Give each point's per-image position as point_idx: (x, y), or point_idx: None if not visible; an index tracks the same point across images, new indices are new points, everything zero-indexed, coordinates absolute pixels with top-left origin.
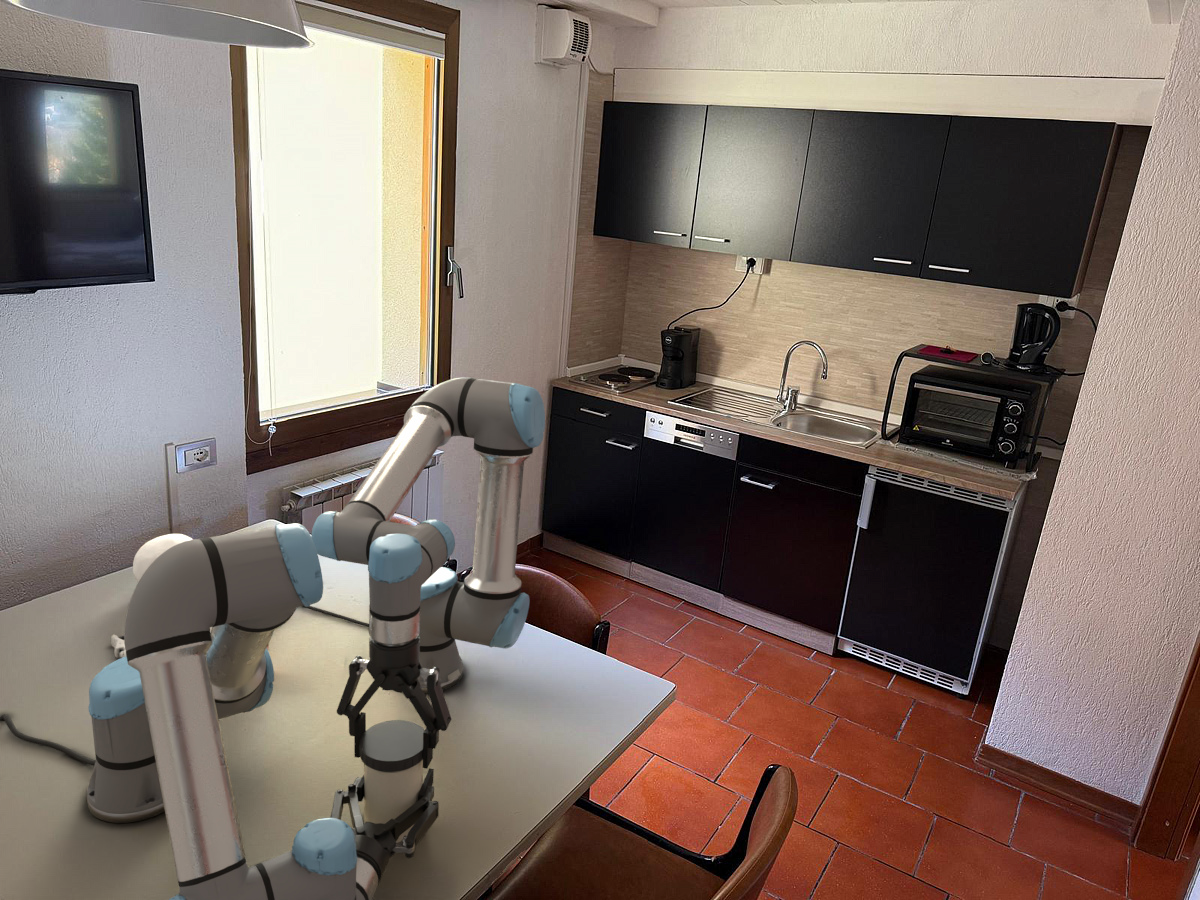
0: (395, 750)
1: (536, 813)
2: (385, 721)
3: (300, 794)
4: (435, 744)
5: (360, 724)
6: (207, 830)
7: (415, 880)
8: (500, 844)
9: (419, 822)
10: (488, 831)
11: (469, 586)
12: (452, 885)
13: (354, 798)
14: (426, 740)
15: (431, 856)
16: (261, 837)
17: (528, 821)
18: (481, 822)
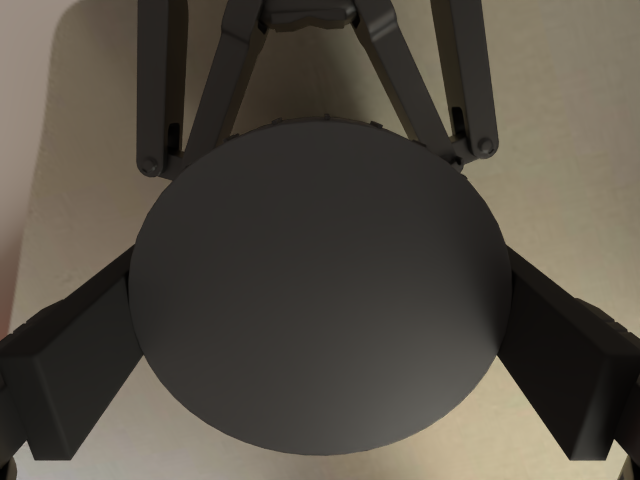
0: (273, 237)
1: (26, 285)
2: (415, 432)
3: (564, 228)
4: (39, 316)
5: (571, 355)
6: None
7: (190, 7)
8: (52, 178)
9: (153, 55)
10: (98, 211)
11: None
12: (93, 13)
13: (424, 125)
14: (55, 315)
15: (188, 101)
16: (626, 66)
17: (30, 259)
18: (126, 234)
